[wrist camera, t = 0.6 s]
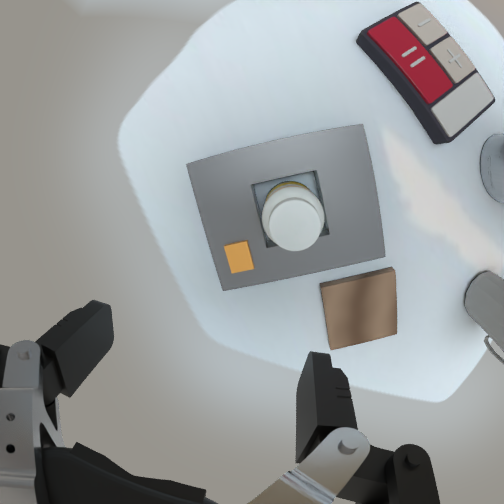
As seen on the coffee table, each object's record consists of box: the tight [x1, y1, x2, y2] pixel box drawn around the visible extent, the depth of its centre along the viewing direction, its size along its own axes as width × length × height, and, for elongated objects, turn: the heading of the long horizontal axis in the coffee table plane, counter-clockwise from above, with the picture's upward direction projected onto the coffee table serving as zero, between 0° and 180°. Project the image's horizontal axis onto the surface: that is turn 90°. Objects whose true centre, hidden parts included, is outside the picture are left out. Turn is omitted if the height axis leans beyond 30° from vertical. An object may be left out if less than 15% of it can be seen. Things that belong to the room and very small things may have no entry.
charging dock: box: [186, 124, 385, 291], centre depth 29 cm, size 18×14×3 cm
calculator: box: [356, 2, 495, 144], centre depth 23 cm, size 11×4×15 cm
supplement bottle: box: [262, 181, 324, 251], centre depth 26 cm, size 5×5×10 cm
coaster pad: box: [320, 267, 397, 350], centre depth 33 cm, size 9×9×1 cm
